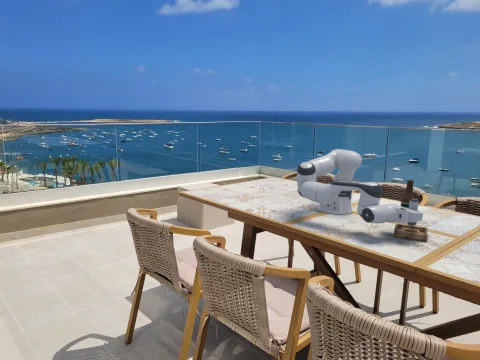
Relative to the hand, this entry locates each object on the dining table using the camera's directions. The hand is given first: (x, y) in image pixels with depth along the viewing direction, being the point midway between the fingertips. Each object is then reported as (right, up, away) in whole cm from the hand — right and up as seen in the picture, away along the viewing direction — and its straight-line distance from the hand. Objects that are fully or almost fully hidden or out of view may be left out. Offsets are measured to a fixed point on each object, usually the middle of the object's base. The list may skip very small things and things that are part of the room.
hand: (414, 210), depth 183 cm
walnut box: (-1, -13, +2) cm, 13 cm away
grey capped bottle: (-1, -7, +1) cm, 7 cm away
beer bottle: (+10, -8, +30) cm, 33 cm away
